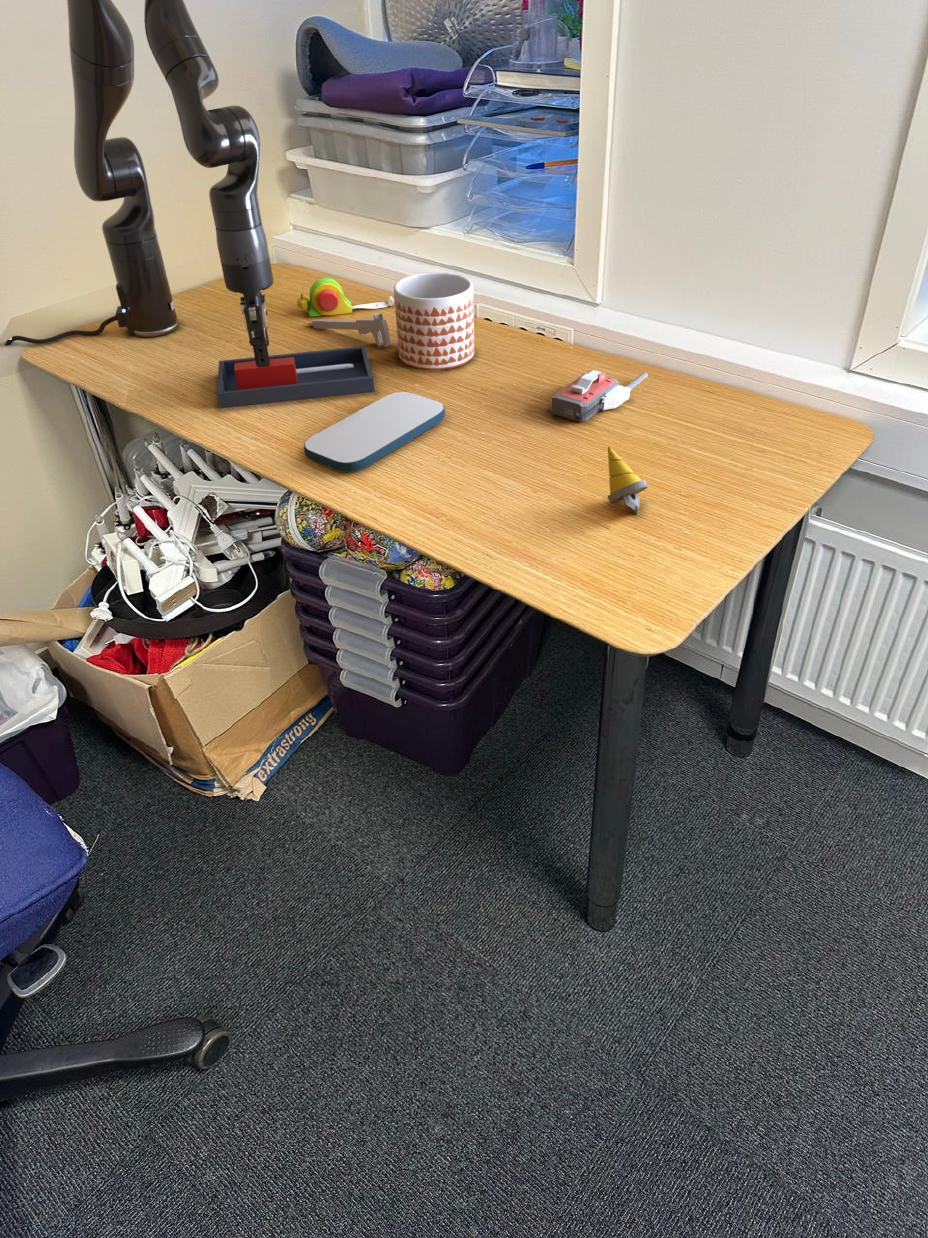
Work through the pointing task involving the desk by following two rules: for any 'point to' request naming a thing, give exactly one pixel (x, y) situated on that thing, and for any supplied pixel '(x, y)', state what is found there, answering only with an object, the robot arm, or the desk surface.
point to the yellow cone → (623, 482)
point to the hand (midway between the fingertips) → (263, 355)
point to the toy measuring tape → (332, 300)
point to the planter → (434, 320)
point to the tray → (301, 378)
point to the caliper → (359, 327)
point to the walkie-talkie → (591, 395)
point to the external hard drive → (374, 431)
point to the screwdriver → (274, 373)
